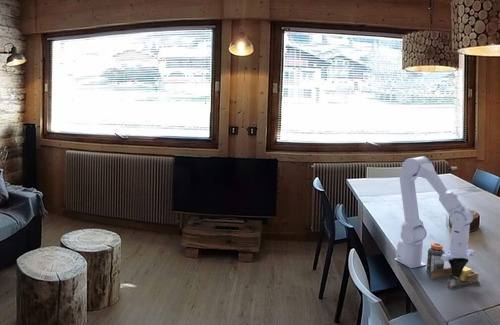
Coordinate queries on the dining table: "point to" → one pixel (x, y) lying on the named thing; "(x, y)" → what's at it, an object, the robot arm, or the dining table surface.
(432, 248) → the pill bottle
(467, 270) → the ochre block
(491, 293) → the dining table surface
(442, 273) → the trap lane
